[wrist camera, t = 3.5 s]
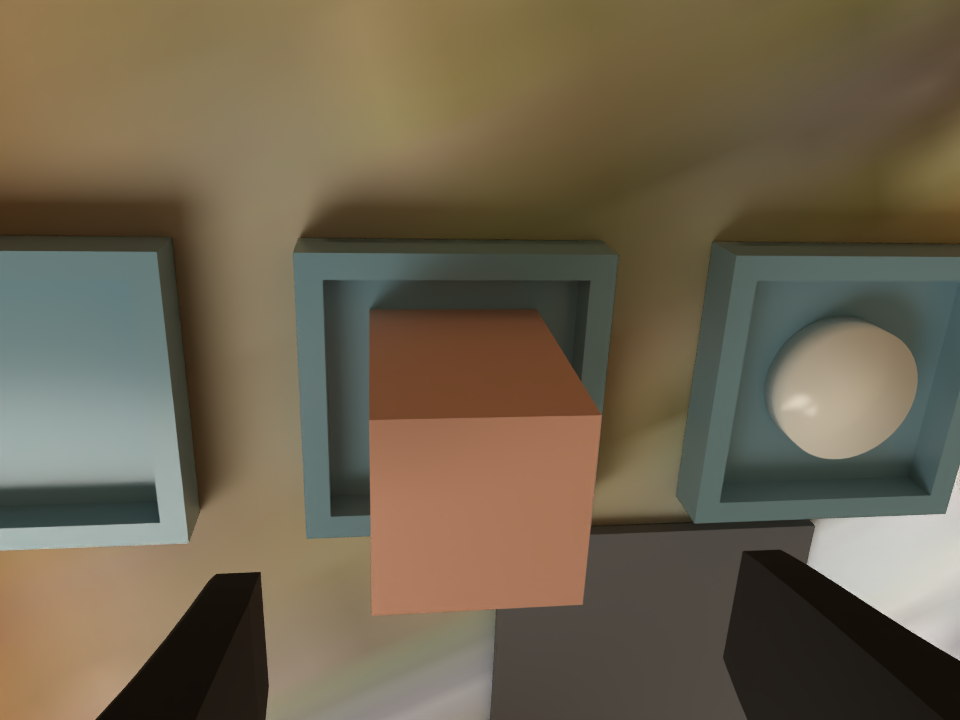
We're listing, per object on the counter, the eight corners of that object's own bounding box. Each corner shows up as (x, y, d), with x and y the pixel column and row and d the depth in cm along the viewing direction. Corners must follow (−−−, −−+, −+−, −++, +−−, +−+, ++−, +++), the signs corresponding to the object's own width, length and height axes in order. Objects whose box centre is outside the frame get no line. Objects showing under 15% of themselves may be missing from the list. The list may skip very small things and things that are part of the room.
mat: (757, 752, 27) (762, 762, 26) (487, 773, 25) (489, 784, 25) (808, 518, 23) (814, 525, 23) (500, 530, 22) (502, 538, 22)
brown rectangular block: (528, 455, 21) (586, 604, 15) (371, 460, 20) (371, 615, 15) (539, 309, 20) (606, 415, 14) (369, 309, 19) (369, 419, 13)
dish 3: (913, 487, 23) (945, 513, 22) (675, 495, 23) (694, 523, 21) (978, 244, 21) (1019, 257, 20) (712, 241, 20) (736, 255, 19)
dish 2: (578, 498, 22) (590, 527, 21) (310, 508, 21) (306, 538, 20) (601, 240, 20) (618, 255, 18) (298, 237, 19) (293, 252, 17)
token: (881, 436, 22) (904, 453, 21) (757, 446, 22) (775, 464, 21) (904, 311, 21) (930, 323, 20) (773, 320, 20) (792, 333, 19)
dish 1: (199, 512, 21) (188, 543, 20) (-103, 522, 20) (-136, 555, 19) (171, 236, 18) (156, 251, 17) (-179, 233, 17) (-224, 249, 16)
